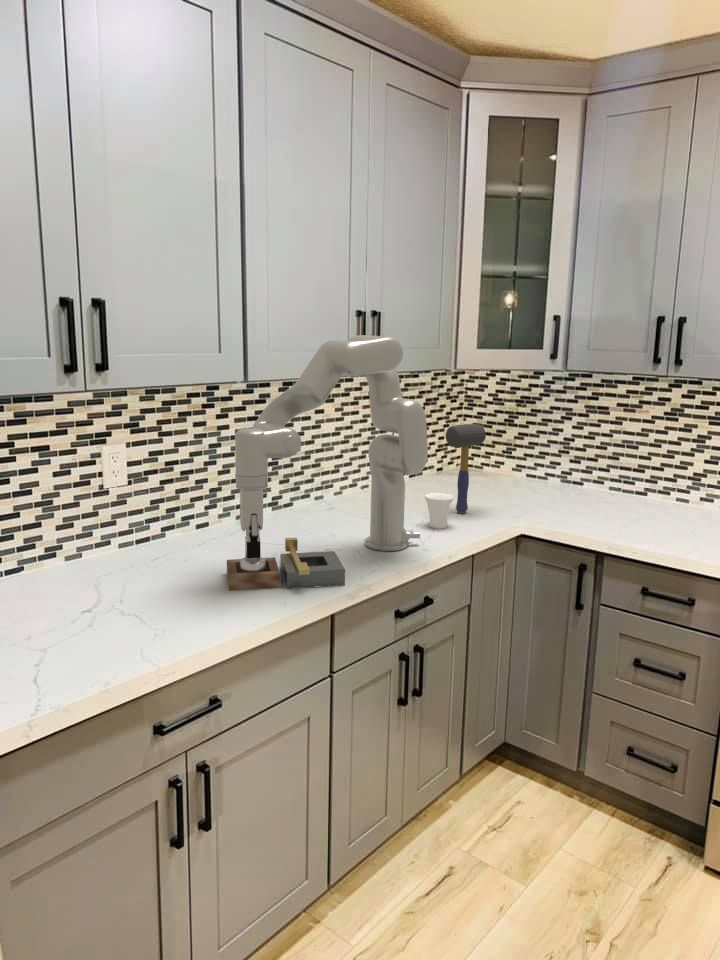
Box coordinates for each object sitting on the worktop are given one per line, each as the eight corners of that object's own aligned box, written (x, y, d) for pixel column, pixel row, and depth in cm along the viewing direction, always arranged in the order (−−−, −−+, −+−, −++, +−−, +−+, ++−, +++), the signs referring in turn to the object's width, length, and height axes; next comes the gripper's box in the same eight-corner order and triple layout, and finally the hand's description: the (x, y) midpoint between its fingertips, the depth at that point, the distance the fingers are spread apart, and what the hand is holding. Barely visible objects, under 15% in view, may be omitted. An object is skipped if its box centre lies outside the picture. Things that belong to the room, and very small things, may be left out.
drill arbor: (264, 570, 177) (264, 533, 175) (266, 578, 172) (266, 541, 170) (239, 571, 176) (239, 534, 174) (241, 580, 170) (240, 542, 168)
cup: (457, 529, 220) (459, 497, 218) (429, 530, 218) (430, 499, 216) (447, 521, 229) (448, 491, 227) (419, 522, 227) (420, 492, 224)
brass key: (298, 548, 185) (298, 537, 184) (309, 574, 166) (309, 562, 166) (284, 549, 184) (284, 538, 184) (295, 575, 166) (295, 563, 165)
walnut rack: (274, 570, 181) (274, 557, 180) (280, 587, 170) (280, 573, 169) (226, 573, 179) (226, 559, 178) (229, 590, 167) (228, 576, 166)
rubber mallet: (454, 517, 233) (459, 426, 227) (440, 512, 239) (444, 423, 233) (482, 512, 240) (488, 424, 233) (468, 507, 246) (472, 421, 240)
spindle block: (334, 565, 186) (334, 551, 185) (345, 585, 172) (345, 569, 171) (280, 568, 182) (280, 553, 182) (287, 588, 169) (287, 572, 168)
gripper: (233, 474, 176) (235, 545, 180) (237, 489, 160) (239, 567, 164) (264, 473, 177) (265, 543, 181) (271, 488, 162) (272, 565, 166)
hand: (253, 554), depth 173 cm, fingers closed on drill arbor, 3 cm apart
